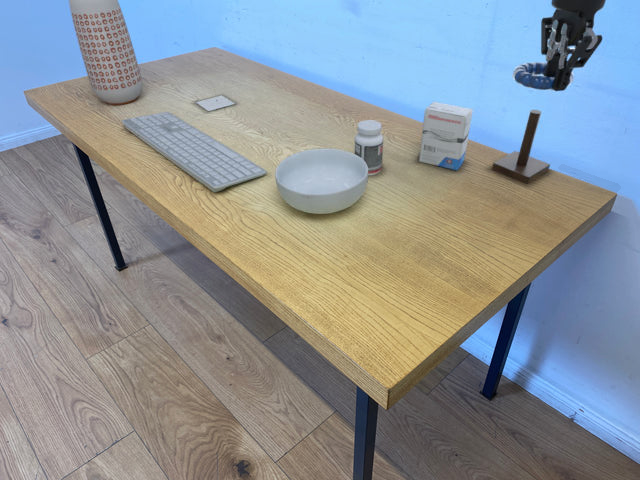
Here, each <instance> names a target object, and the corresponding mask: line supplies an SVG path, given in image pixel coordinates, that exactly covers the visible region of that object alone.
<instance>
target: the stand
mask: <svg viewBox="0 0 640 480" xmlns="http://www.w3.org/2000/svg"><path fill="white" fill-rule="evenodd" d="M541 115H542V111H541V110H538V109H531V110H529V114H528V117H527V122H526V125H525V130H524V133H523V137H522V141H521V144H520V148H519V151H517V150H513V151H512V152H510V153H508V154H507V155H505V156H503V157H501V158H499V159H497V160H496V161H494V162H493V164H492V167H491V169H492V170H493V171H495V172H498V173H500V174H502V175H505V176H507V177H510V178H512V179H514V180H517V181H519V182H521V183H524V184H526V185H528V184H530V183H531V182H533V181H534V180H536V179H538V178H540V176H542V175H544V174H545V173H547V172H548V171H549V170H550V168H551V163H548V162H546V161H543V160H540V159H538V158H536V157H533V156H530V155H531V152H532V148H533V146H534V145H533V144H534V141H535V137H536V133H537V130H538V126H539V123H540V119H541Z"/></svg>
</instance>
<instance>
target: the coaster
mask: <svg viewBox="0 0 640 480" xmlns="http://www.w3.org/2000/svg"><path fill="white" fill-rule="evenodd" d="M195 104H197V105H199V106H200V107H201V108H203V109H205V110H206V111H207V112H210V111H215V110H218V109H222V108H225V107H228V106H233V105H235V104H236V102H233V101H232V100H230V99H228V98H227V97H225V96H223V95H219V96H214V97H211V98H207V99H203V100H199V101H196V102H195Z"/></svg>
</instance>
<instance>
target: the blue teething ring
mask: <svg viewBox="0 0 640 480" xmlns="http://www.w3.org/2000/svg"><path fill="white" fill-rule="evenodd" d="M546 65H547V62H540V61H539V62H537V61H534V62H525V63H521V64H519V65H517V66H516V67H515V68H514V69H513V72H512V79H513V80H514V81H515V82H516V83H517V84H518V85H521V86H522V87H526V88H529V89H533V90H541V91H554V90H553V89H552V86H553V82H554V79H555V77H546V76H544V73H545V69H546ZM574 77H575V76H574V72H573V71H572V73H571V76H570V79H569V83H568V86H567V87H569V86H571V85H572V83H573V82H574Z"/></svg>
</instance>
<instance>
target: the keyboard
mask: <svg viewBox="0 0 640 480" xmlns="http://www.w3.org/2000/svg"><path fill="white" fill-rule="evenodd" d="M121 123H122V124H123V126H124V128H125V129H126V130H128V131H129V132H130V133H132V134H133V135H134V136H136V137H137V138H139V139H140V140H141V141H142V142H144V143H145V144H146V145H148V146H149V147H151V148H152V149H153V150H155V151H156V152H157V153H158V154H160V155H162V156H163V157H165V158H166V159H167V160H169V161H170V162H171V163H173V164H174V165H175V166H177V167H178V168H179V169H181V170H182V171H183V172H185V173H187V174H188V175H189V176H191V177H192V178H194V179H195V180H196V181H197V182H198V183H200V184H201V185H203V186H204V187H206V188H207V189H209V190H210V191H211V192H213V193H217V192H220V191H223V190H225V189H226V188H228V187H230V186H234V185H237V184H240V183H243V182H247V181H250V180H253V179H255V178H259V177H262V176H265V175H266V174H267V170H266V169H264V168H263V167H262V166H260V165H258V164H256V163H255V162H253V161H252V160H250V159H248V158H247V157H245V156H244V155H242V154H240V153H238V152H237V151H235V150H233V149H232V148H231V147H229V146H227V145H226V144H224V143H222V142H220V141H218V140H217V139H215V138H213V137H211V136H210V135H209V134H206V133H205V132H203V131H201V130H200V129H198V128H196V127H194V126H193V125H191V124H190V123H188V122H187V121H185V120H183V119H182V118H179V117H177V116H176V115H174V114H173V113H171V112H169V111H163V112H158V113H152V114H147V115H141V116H137V117H131V118H125V119H121Z"/></svg>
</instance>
